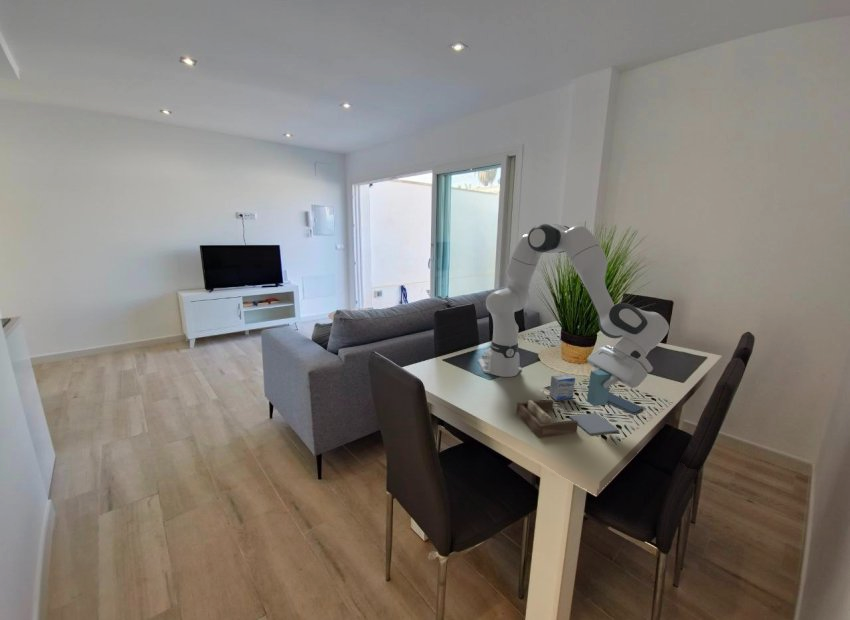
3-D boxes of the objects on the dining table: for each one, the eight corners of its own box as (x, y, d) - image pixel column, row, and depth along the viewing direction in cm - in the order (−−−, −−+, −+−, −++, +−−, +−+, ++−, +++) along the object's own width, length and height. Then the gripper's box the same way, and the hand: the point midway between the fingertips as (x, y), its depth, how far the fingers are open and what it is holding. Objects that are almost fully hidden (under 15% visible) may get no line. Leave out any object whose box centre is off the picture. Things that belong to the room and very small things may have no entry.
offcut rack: (516, 413, 125) (517, 402, 124) (550, 409, 128) (551, 399, 127) (538, 437, 110) (540, 426, 110) (576, 432, 114) (578, 421, 113)
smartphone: (634, 413, 126) (595, 394, 138) (633, 417, 126) (594, 398, 138) (644, 407, 130) (606, 390, 142) (643, 411, 130) (605, 394, 142)
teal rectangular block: (586, 401, 118) (590, 370, 116) (599, 399, 119) (603, 369, 117) (593, 406, 115) (598, 375, 112) (606, 404, 116) (611, 373, 113)
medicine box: (555, 400, 135) (558, 380, 133) (548, 395, 139) (551, 375, 137) (573, 398, 137) (575, 378, 135) (565, 393, 141) (568, 373, 139)
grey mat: (568, 417, 123) (569, 415, 123) (595, 414, 125) (596, 413, 125) (589, 435, 113) (590, 433, 112) (618, 431, 115) (618, 429, 115)
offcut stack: (526, 417, 123) (528, 400, 121) (535, 416, 123) (537, 399, 122) (540, 431, 114) (542, 413, 113) (550, 430, 115) (552, 412, 113)
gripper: (600, 338, 124) (573, 365, 124) (648, 358, 105) (615, 391, 105) (609, 349, 126) (582, 376, 126) (657, 371, 107) (626, 403, 107)
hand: (597, 383), depth 115 cm, fingers closed on teal rectangular block, 3 cm apart
